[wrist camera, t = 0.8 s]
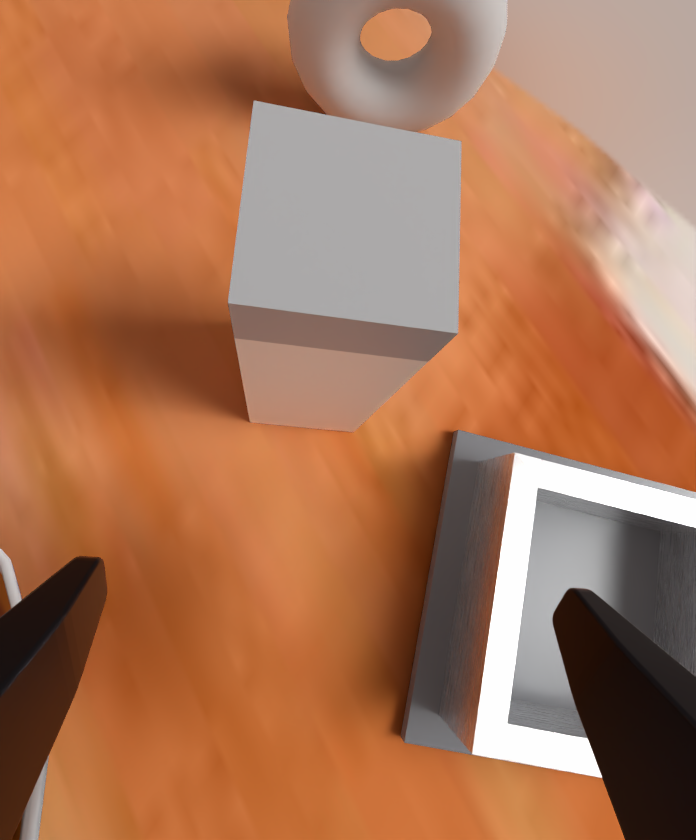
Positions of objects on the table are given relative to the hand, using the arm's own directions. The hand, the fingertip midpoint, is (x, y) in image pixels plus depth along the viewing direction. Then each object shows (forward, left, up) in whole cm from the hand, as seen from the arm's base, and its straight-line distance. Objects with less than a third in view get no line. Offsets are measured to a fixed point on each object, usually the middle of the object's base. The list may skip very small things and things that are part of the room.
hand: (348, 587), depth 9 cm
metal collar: (+9, -9, -13) cm, 18 cm away
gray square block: (+4, +7, -13) cm, 15 cm away
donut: (+15, +18, -13) cm, 27 cm away
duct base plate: (+9, -9, -13) cm, 18 cm away
